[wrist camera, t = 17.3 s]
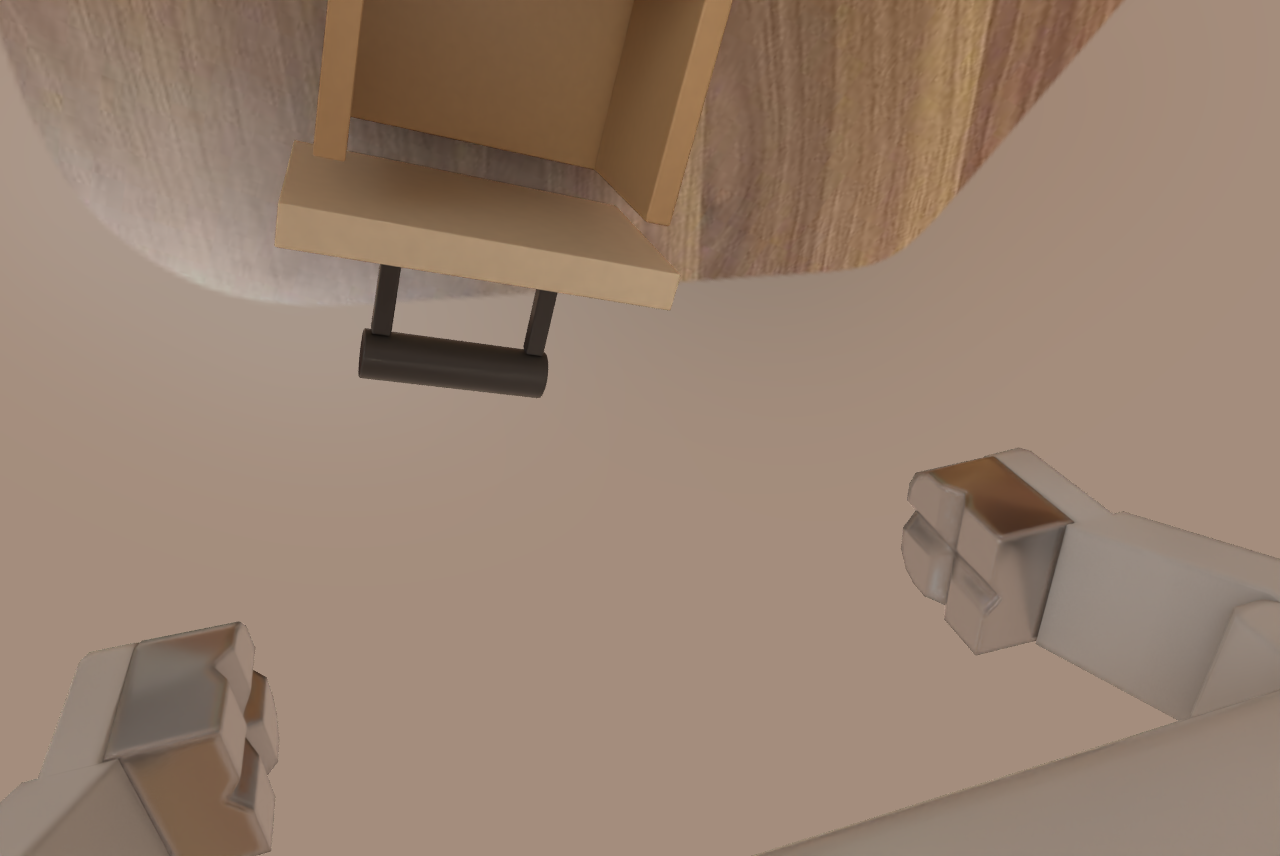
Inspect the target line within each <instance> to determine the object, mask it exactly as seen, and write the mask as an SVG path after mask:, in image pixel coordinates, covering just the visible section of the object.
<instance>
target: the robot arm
mask: <svg viewBox="0 0 1280 856" xmlns="http://www.w3.org/2000/svg"><path fill="white" fill-rule="evenodd" d="M907 500H908V501H909V503H910V504H911V505H912V507H913V508H914V509H915V512H914V514H913V515H912V516H911V518H910V519H909V520H908V522H907V523H906V524H905V526H904V527H903V535H902V546H901V550H902V554H903V558H904V563H905V567H906V570H907V572H908V574H909V576H910V577H911V579H912V581H913V583H914V584H915V586H916V587H917V588H918V589H919V590H920V592H921V593H922V594H923V595H924V596H925V597H928V598H930V599H932V600H935V601H937V602H939V603H942V604H944V605H945V615H944V620H945V621H946V622H947V623H948V624H949V625H950V626H951V628H952V629H953V630H954V631H955V632H956V633H957V634H958V636H959V637H960V638H961V639H962V640H963V641H964V643H965V644H966V645H967V646H968V647H969V648H970V650H971V651H972V652H973V653H974V654H975V655H980V654H983V653H988V652H992V651H996V650H1000V649H1004V648H1008V647H1012V646H1016V645H1020V644H1024V643H1029V642H1033V641H1036V644H1037V645H1039V646H1041V647H1042V648H1044V649H1046V650H1048V651H1050V652H1052V653H1053V654H1055V655H1057V656H1059V657H1061V658H1063V659H1065V660H1067V661H1069V662H1070V663H1072V664H1074V665H1076V666H1078V667H1080V668H1081V669H1083V670H1085V671H1087V672H1089V673H1091V674H1093V675H1095V676H1096V677H1098V678H1100V679H1102V680H1104V681H1106V682H1108V683H1110V684H1111V685H1113V686H1115V687H1117V688H1119V689H1121V690H1122V691H1124V692H1126V693H1128V694H1130V695H1132V696H1134V697H1136V698H1137V699H1139V700H1141V701H1143V702H1145V703H1147V704H1149V705H1150V706H1152V707H1154V708H1156V709H1158V710H1160V711H1162V712H1163V713H1165V714H1167V715H1169V716H1171V717H1173V718H1175V719H1177V720H1178V722H1174V723H1171V724H1168V725H1165V726H1162V727H1159V728H1156V729H1152V730H1149V731H1146V732H1142V733H1140V734H1136V735H1133V736H1130V737H1127V738H1123V739H1121V740H1118V741H1114V742H1111V743H1108V744H1104V745H1101V746H1098V747H1095V748H1092V749H1089V750H1085V751H1082V752H1079V753H1076V754H1073V755H1070V756H1066V757H1063V758H1060V759H1057V760H1054V761H1051V762H1048V763H1044V764H1041V765H1038V766H1035V767H1032V768H1029V769H1026V770H1022V771H1019V772H1016V773H1013V774H1010V775H1006V776H1003V777H1000V778H997V779H994V780H991V781H988V782H985V783H981V784H978V785H975V786H972V787H968V788H965V789H962V790H959V791H956V792H953V793H950V794H946V795H943V796H940V797H937V798H934V799H931V800H928V801H925V802H921V803H918V804H915V805H912V806H909V807H905V808H902V809H899V810H896V811H893V812H889V813H886V814H883V815H880V816H877V817H874V818H871V819H867V820H864V821H861V822H858V823H855V824H851V825H849V826H845V827H842V828H839V829H836V830H832V831H829V832H826V833H823V834H820V835H817V836H814V837H810V838H808V839H804V840H801V841H798V842H794V843H792V844H788V845H785V846H782V847H779V848H775V849H772V850H769V851H766V852H763V853H760V854H756V855H753V856H1280V559H1278V558H1275V557H1272V556H1269V555H1265V554H1262V553H1259V552H1255V551H1252V550H1249V549H1246V548H1242V547H1239V546H1235V545H1232V544H1229V543H1225V542H1222V541H1219V540H1216V539H1213V538H1209V537H1206V536H1203V535H1199V534H1196V533H1193V532H1189V531H1186V530H1183V529H1180V528H1176V527H1173V526H1170V525H1166V524H1163V523H1160V522H1156V521H1153V520H1149V519H1146V518H1143V517H1140V516H1137V515H1133V514H1130V513H1127V512H1119V513H1115V514H1113V513H1111V512H1110V511H1109V510H1107V509H1106V508H1105V507H1103V506H1102V505H1101V504H1099V503H1098V502H1097V501H1096V500H1094V499H1093V498H1092V497H1090V496H1089V495H1088V494H1086V493H1085V492H1084V491H1082V490H1081V489H1080V488H1079V487H1077V486H1076V485H1074V484H1073V483H1072V482H1071V481H1069V480H1068V479H1067V478H1065V477H1064V476H1063V475H1062V474H1060V473H1059V472H1058V471H1056V470H1055V469H1054V468H1052V467H1051V466H1050V465H1048V464H1047V463H1046V462H1045V461H1043V460H1042V459H1041V458H1039V457H1038V456H1037V455H1035V454H1034V453H1033V452H1031V451H1029V450H1026V449H1022V448H1016V449H1011V450H1007V451H1003V452H1000V453H995V454H991V455H987V456H985V457H983V458H979V459H974V460H970V461H966V462H961V463H957V464H952V465H948V466H944V467H939V468H935V469H930V470H926V471H921V472H917V473H915V475H914V477H913V479H912V480H911V482H910V484H909V491H908V497H907ZM254 654H255V646H254V644H253V641H252V639H251V636H250V634H249V632H248V629H247V627H246V625H244V624H243V623H241V622H234V623H230V624H224V625H220V626H214V627H209V628H204V629H199V630H194V631H189V632H184V633H179V634H174V635H170V636H164V637H159V638H154V639H149V640H144V641H141V642H140V643H132V644H127V645H122V646H117V647H112V648H107V649H103V650H98V651H93V652H89V653H88V654H87V655H86V656H85V657H84V658H83V659H82V660H81V661H80V662H79V664H78V667H77V670H76V672H75V675H74V678H73V681H72V684H71V687H70V689H69V692H68V695H67V698H66V701H65V703H64V706H63V709H62V712H61V715H60V717H59V720H58V723H57V726H56V729H55V732H54V734H53V737H52V740H51V743H50V746H49V749H48V751H47V754H46V757H45V760H44V763H43V766H42V769H41V771H40V774H39V777H38V779H34V780H31V781H27V782H23V783H21V784H20V785H19V786H17V787H16V789H14V790H13V791H12V792H11V793H10V794H9V795H8V796H7V797H6V798H5V799H4V800H3V801H2V802H0V856H257V855H260V854H263V853H267V852H270V851H271V846H272V834H273V821H274V809H275V794H274V791H273V789H272V787H271V784H270V781H269V779H268V776H267V775H268V774H269V773H270V771H271V770H272V769H273V768H274V766H275V765H276V764H277V762H278V752H279V732H278V721H277V712H276V708H275V703H274V699H273V695H272V692H271V689H270V686H269V683H268V681H267V678H266V677H265V676H263V675H261V674H260V673H258V672H256V671H254V670H253V665H254Z"/></svg>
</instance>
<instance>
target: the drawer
mask: <svg viewBox="0 0 1280 856" xmlns="http://www.w3.org/2000/svg"><path fill="white" fill-rule="evenodd" d="M732 2H733V0H328V3H327V13H326V23H325V33H324V43H323V53H322V63H321V73H320V84H319V94H318V104H317V114H316V124H315V134H314V144H312V143H307V142H302V141H297V140H294V143H293V147H292V150H291V154H290V158H289V162H288V166H287V170H286V174H285V178H284V182H283V186H282V190H281V194H280V198H279V202H278V209H277V220H276V232H275V244H274V245H275V247H279V248H285V249H291V250H297V251H303V252H310V253H316V254H322V255H328V256H334V257H341V258H347V259H353V260H359V261H365V262H372V263H378V264H380V266H379V273H378V280H377V288H376V295H375V302H374V309H373V316H372V323H371V329H366V328H365V329H364V331H363V335H362V341H361V348H360V357H359V377H360V378H367V379H375V380H384V381H393V382H402V383H411V384H419V385H428V386H436V387H446V388H454V389H463V390H472V391H480V392H489V393H498V394H506V395H516V396H524V397H533V398H540V397H541V396H542V394H543V392H544V390H545V386H546V383H547V376H548V359H547V355H546V354H545V353H544V348H545V344H546V339H547V335H548V331H549V327H550V322H551V318H552V313H553V309H554V305H555V301H556V296H557V292H558V293H564V294H570V295H576V296H583V297H589V298H595V299H601V300H608V301H614V302H620V303H626V304H632V305H638V306H645V307H651V308H658V309H663V310H671V306H672V303H673V299H674V296H675V293H676V289H677V286H678V283H679V279H680V274H679V273H678V271H677V270H676V269H675V268H674V267H673V266H672V265H671V264H670V263H669V262H668V261H667V260H666V259H665V258H664V257H663V255H662V254H661V253H660V252H659V251H658V250H657V249H656V248H655V247H654V246H653V245H652V244H651V243H650V242H649V241H648V239H647V238H646V237H645V236H644V235H643V234H642V233H641V232H640V231H639V230H638V229H637V228H636V227H635V226H634V225H633V223H632V222H631V221H630V220H629V219H628V218H627V217H626V216H625V215H624V214H623V213H622V212H621V211H620V210H619V209H618V207H617V206H615V205H610V204H605V203H601V202H596V201H591V200H586V199H581V198H576V197H571V196H566V195H561V194H557V193H552V192H547V191H542V190H537V189H532V188H527V187H522V186H517V185H512V184H508V183H503V182H498V181H493V180H488V179H483V178H478V177H473V176H468V175H464V174H459V173H454V172H449V171H444V170H439V169H434V168H429V167H424V166H419V165H415V164H410V163H405V162H400V161H395V160H390V159H385V158H380V157H375V156H370V155H366V154H361V153H356V152H351V151H346V150H347V142H348V133H349V125H350V117H355V118H359V119H364V120H368V121H373V122H378V123H382V124H387V125H391V126H396V127H401V128H405V129H410V130H414V131H419V132H423V133H428V134H433V135H437V136H442V137H446V138H451V139H456V140H460V141H465V142H469V143H474V144H478V145H483V146H488V147H492V148H497V149H501V150H506V151H511V152H515V153H520V154H524V155H529V156H533V157H538V158H543V159H547V160H552V161H556V162H561V163H566V164H570V165H575V166H579V167H584V168H588V169H593V170H595V171H596V172H597V173H598V174H599V175H600V176H601V177H602V178H603V179H604V180H605V181H606V182H607V183H608V184H609V185H610V186H611V187H612V188H613V189H614V190H615V191H616V192H617V193H618V194H619V195H620V196H621V197H622V198H623V199H624V200H625V201H626V202H627V203H628V204H629V205H630V206H631V207H632V208H633V209H634V210H635V211H636V212H637V213H638V214H639V215H640V216H641V217H642V218H643V219H644V220H645V221H646V222H649V223H654V224H659V225H664V226H669V225H670V222H671V219H672V215H673V212H674V208H675V205H676V201H677V197H678V194H679V190H680V187H681V183H682V180H683V176H684V173H685V169H686V165H687V162H688V158H689V155H690V151H691V148H692V144H693V140H694V137H695V133H696V130H697V126H698V123H699V119H700V116H701V112H702V108H703V105H704V101H705V98H706V94H707V91H708V87H709V84H710V80H711V76H712V73H713V69H714V66H715V62H716V59H717V55H718V52H719V48H720V44H721V41H722V37H723V34H724V30H725V27H726V23H727V19H728V16H729V12H730V9H731V5H732ZM401 267H403V268H409V269H415V270H421V271H427V272H434V273H440V274H446V275H452V276H458V277H465V278H471V279H477V280H483V281H490V282H496V283H502V284H508V285H514V286H521V287H527V288H533V289H536V292H535V297H534V302H533V306H532V311H531V315H530V320H529V324H528V329H527V333H526V338H525V342H524V349H516V348H509V347H501V346H493V345H486V344H479V343H472V342H464V341H457V340H449V339H441V338H434V337H427V336H419V335H412V334H404V333H397V332H391V331H392V323H393V317H394V311H395V304H396V298H397V291H398V284H399V278H400V271H401Z"/></svg>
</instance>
